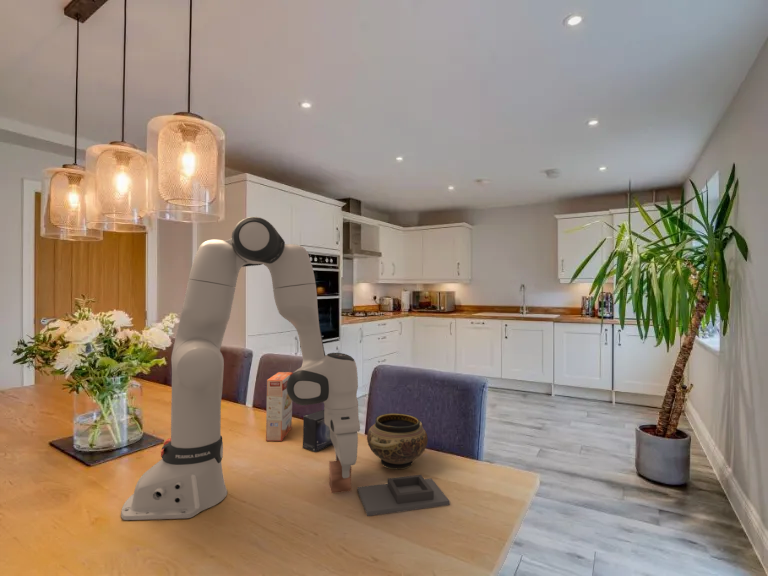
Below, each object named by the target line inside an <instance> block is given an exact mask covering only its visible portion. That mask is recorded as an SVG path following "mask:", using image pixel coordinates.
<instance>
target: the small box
mask: <svg viewBox="0 0 768 576" xmlns="http://www.w3.org/2000/svg"><path fill="white" fill-rule="evenodd" d="M302 419H303V423H302V424H303V426H302V430H303V431H302V434H303V435H302V449H305V450H308V451H310V452H312V453H313V452H314V453H317V452H320V451H321V450H324V449H327V448H329V447H331V446H332V447H333V443H332V441H331V438H330V429H329V426H327V425H325V422H324V409H322V410H318V411H316V412H313V413H309V414H305V415H303V417H302Z"/></svg>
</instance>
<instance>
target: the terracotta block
mask: <svg viewBox="0 0 768 576" xmlns="http://www.w3.org/2000/svg"><path fill="white" fill-rule="evenodd" d="M328 466H329V468H328V469H329V472H328V473H329V474H328V477H329V479H328V480H329V481H328V483H329V488H330V492H331V494H337V493H338V494H339V493H345V492H352V465H351V466H350V476H349V477H348V478H343V477H342V472H341V469H342V466H341V463H340V461H336V460H329V465H328Z"/></svg>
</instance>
